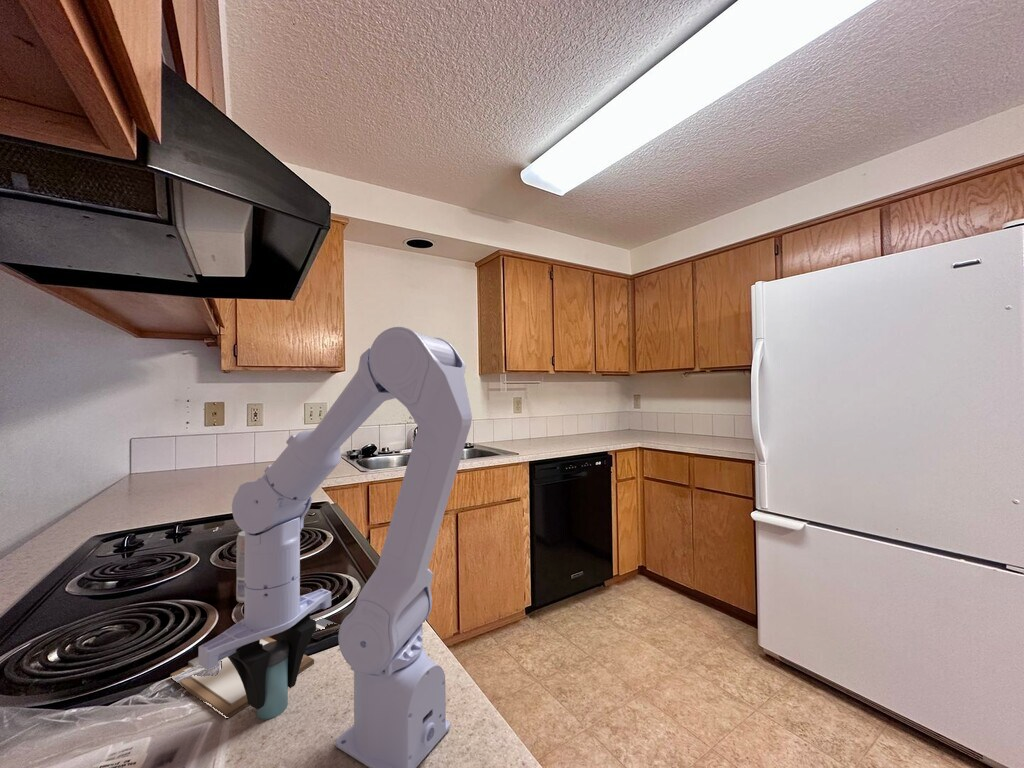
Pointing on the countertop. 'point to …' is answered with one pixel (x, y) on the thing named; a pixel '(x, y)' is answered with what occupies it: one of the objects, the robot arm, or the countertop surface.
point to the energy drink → (240, 567)
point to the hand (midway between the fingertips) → (272, 693)
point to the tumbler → (275, 680)
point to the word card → (322, 623)
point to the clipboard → (225, 685)
